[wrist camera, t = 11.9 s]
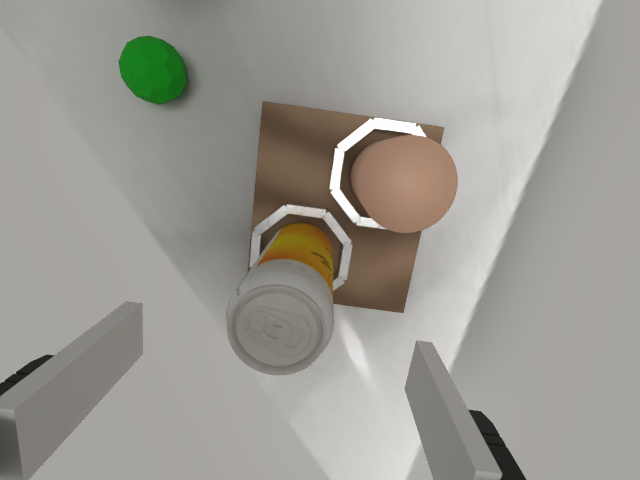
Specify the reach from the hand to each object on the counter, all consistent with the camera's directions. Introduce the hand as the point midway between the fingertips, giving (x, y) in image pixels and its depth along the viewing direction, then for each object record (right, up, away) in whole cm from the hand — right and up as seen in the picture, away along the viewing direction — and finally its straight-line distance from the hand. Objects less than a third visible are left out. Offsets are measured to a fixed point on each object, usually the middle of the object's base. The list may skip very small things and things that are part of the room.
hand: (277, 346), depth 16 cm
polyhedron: (-12, +20, +14) cm, 27 cm away
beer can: (0, +4, +16) cm, 17 cm away
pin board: (+4, +8, +17) cm, 19 cm away
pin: (+8, +11, +14) cm, 20 cm away
